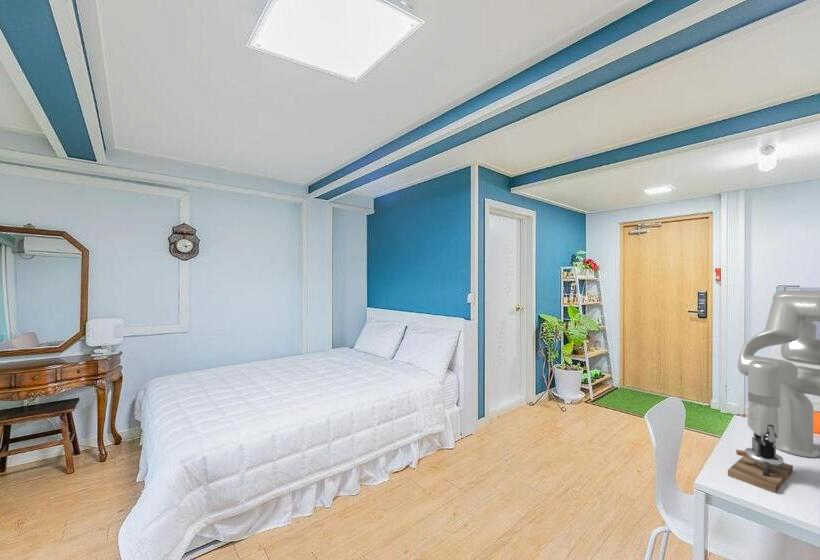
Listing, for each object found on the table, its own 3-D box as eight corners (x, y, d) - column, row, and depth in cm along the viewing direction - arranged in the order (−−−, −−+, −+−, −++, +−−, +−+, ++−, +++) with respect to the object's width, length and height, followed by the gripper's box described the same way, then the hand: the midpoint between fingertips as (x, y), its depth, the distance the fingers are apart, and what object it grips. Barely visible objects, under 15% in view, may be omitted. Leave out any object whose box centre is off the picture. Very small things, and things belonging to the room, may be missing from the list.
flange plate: (775, 455, 117) (775, 438, 117) (789, 469, 109) (789, 450, 109) (732, 448, 123) (732, 431, 123) (741, 460, 115) (741, 442, 115)
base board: (748, 457, 126) (748, 440, 126) (792, 471, 116) (793, 453, 116) (727, 475, 115) (727, 457, 114) (775, 493, 105) (775, 473, 105)
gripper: (739, 390, 124) (739, 440, 125) (759, 406, 110) (759, 463, 110) (767, 393, 121) (767, 445, 121) (792, 410, 106) (792, 469, 106)
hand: (763, 453), depth 116 cm, fingers closed on flange plate, 4 cm apart
